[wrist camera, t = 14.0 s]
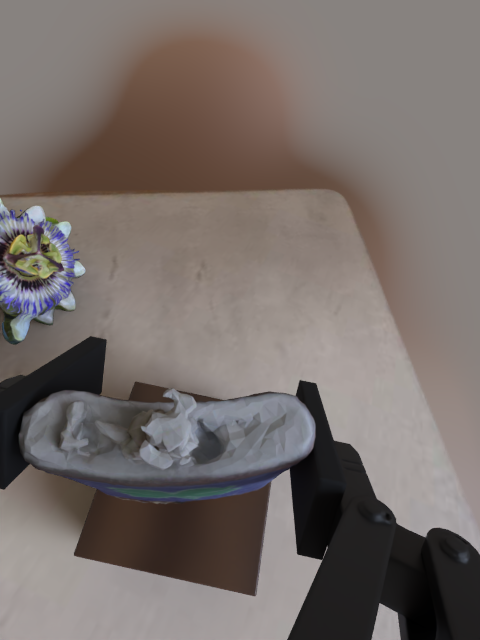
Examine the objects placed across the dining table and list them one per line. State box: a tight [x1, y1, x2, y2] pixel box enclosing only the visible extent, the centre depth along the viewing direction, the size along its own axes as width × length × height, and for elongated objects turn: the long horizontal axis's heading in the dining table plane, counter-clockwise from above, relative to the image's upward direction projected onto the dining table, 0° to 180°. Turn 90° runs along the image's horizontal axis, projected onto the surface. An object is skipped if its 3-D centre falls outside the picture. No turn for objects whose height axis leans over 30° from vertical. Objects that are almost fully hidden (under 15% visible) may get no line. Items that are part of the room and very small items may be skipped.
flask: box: [19, 388, 315, 504], centre depth 14 cm, size 9×3×11 cm, turn 91°
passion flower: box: [0, 198, 85, 345], centre depth 30 cm, size 11×11×12 cm
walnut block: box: [74, 382, 271, 596], centre depth 24 cm, size 10×10×6 cm
